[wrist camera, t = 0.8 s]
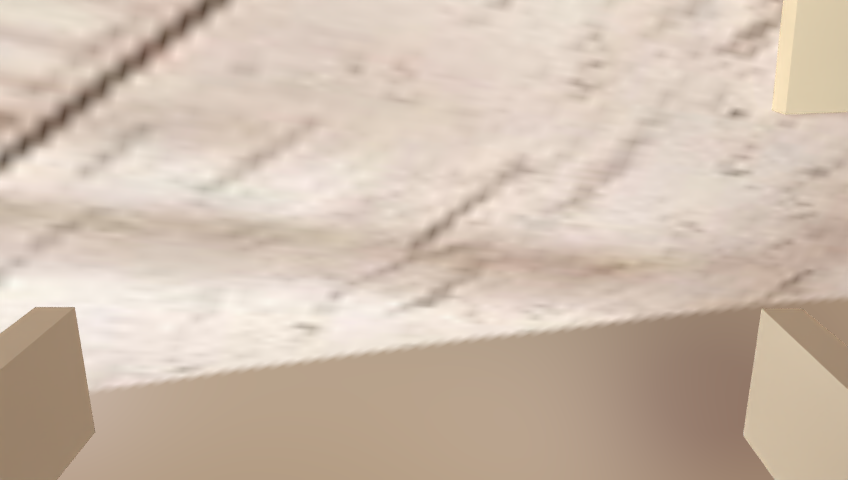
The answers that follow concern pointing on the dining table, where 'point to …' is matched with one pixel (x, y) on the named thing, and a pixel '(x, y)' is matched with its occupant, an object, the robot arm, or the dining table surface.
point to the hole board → (812, 58)
